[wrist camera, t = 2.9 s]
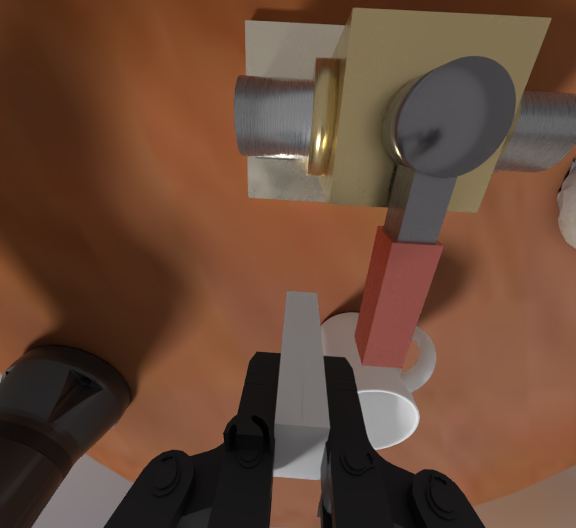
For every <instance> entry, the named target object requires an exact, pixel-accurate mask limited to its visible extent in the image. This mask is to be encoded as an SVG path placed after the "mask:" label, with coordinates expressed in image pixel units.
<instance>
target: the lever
mask: <svg viewBox="0 0 576 528" xmlns="http://www.w3.org/2000/svg"><path fill="white" fill-rule="evenodd" d="M515 107H516V93H515V87H514V84H513V81H512V79H511V77H510V75H509V73H508V72H507V71H506V69H505V68H504V67H503V66H502V65H500V64H499V63H498V62H496V61H494V60H492V59H490V58H487V57H482V56H467V57H461V58H458V59H455V60H452V61H450V62H448V63H446V64H444V65H442V66H440V67H438V68H435V69H433V70H431V71H429V72H427V73H425V74H423V75H420V76H418V77H416V78H414V79H413V80H411V81H410V82H408V83H407V84H406V85H405V86H404V87H403V88H402V89H401V90H400V91H399V92H398V93H397V94H396V95H395V97H394V98H393V100H392V101H391V103H390V105H389V107H388V109H387V112H386V114H385V118H384V122H383V134H382V135H383V142H384V146H385V149H386V151H387V153H388V155H389V156H390V157H391V159H392V160H393V161H394V162H395V163H397V164H398V167H397V171H396V175H395V180H394V184H393V189H392V193H391V198H390V202H389V206H388V211H387V215H386V220H385V224H384V226H378V228H377V233H376V237H375V242H374V247H373V251H372V256H371V261H370V265H369V270H368V275H367V279H366V284H365V289H364V293H363V298H362V303H361V307H360V312H359V317H358V321H357V326H356V331H355V335H354V338H355V342H356V345H357V349H358V353H359V356H360V360H361V364H362V366H377V367H392V368H402V366H403V363H404V360H405V357H406V354H407V351H408V349H409V346H410V343H411V340H412V337H413V334H414V331H415V328H416V325H417V323H418V320H419V317H420V314H421V311H422V308H423V305H424V302H425V299H426V297H427V294H428V291H429V288H430V285H431V282H432V279H433V276H434V273H435V271H436V268H437V265H438V262H439V259H440V256H441V253H442V250H443V247H444V246H443V245H442V244H441V243H440V242H438V241H437V238H438V235H439V232H440V229H441V226H442V223H443V220H444V217H445V214H446V211H447V208H448V205H449V202H450V199H451V196H452V192H453V189H454V186H455V183H456V180H457V177H458V176H461V175H463V174H466V173H468V172H470V171H472V170H474V169H476V168H477V167H479V166H480V165H481V164H483V163H484V162H485V161H486V160H488V159H489V158H490V157H491V156H492V155H493V154H494V153H495V151H496V150H497V149H498V148H499V146H500V145H501V144H502V142H503V141H504V139H505V137H506V135H507V134H508V131H509V129H510V127H511V124H512V121H513V118H514V113H515Z"/></svg>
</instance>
